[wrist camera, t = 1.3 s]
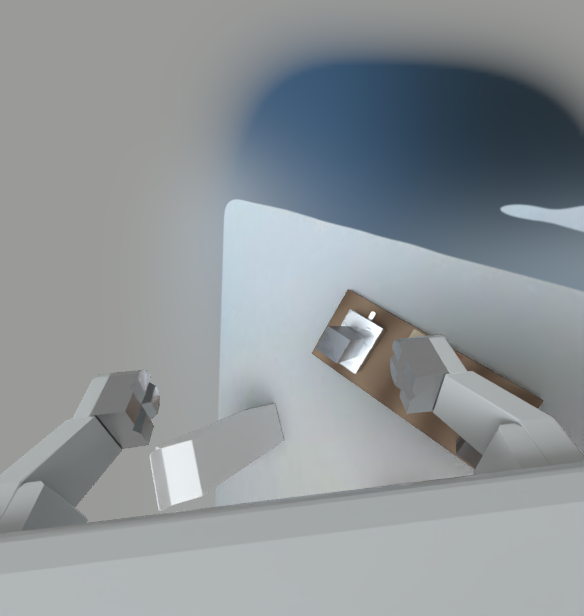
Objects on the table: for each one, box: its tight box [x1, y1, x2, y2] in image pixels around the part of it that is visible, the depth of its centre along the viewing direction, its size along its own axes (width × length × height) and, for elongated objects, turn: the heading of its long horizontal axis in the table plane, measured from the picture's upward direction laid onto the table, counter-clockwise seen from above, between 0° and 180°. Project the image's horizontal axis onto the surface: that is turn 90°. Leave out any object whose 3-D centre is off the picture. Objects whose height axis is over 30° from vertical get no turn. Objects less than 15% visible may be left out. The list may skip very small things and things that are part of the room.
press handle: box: [315, 309, 386, 374], centre depth 40 cm, size 5×8×10 cm, turn 149°
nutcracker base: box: [312, 290, 543, 469], centre depth 39 cm, size 26×11×9 cm, turn 58°
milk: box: [150, 403, 284, 511], centre depth 43 cm, size 6×6×22 cm
